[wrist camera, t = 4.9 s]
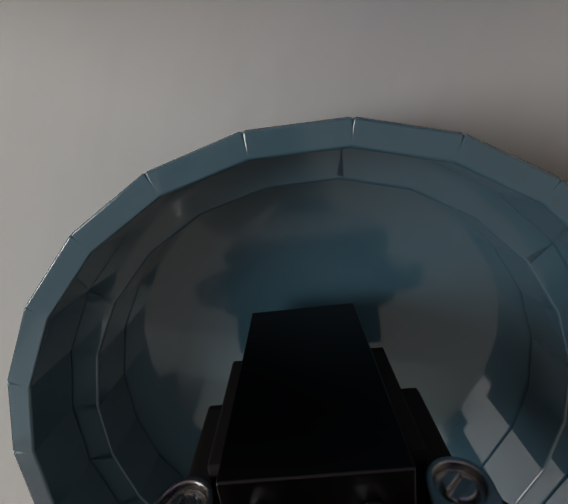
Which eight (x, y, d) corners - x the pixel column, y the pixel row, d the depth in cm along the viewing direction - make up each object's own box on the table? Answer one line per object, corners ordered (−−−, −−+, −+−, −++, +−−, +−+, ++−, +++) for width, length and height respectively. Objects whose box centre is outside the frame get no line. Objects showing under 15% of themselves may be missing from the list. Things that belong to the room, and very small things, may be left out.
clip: (274, 450, 13) (260, 722, 7) (251, 312, 12) (208, 511, 5) (363, 442, 13) (428, 715, 7) (353, 302, 11) (426, 496, 5)
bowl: (148, 554, 17) (103, 678, 13) (29, 164, 12) (-101, 174, 8) (546, 533, 15) (628, 663, 12) (592, 92, 11) (759, 63, 7)
